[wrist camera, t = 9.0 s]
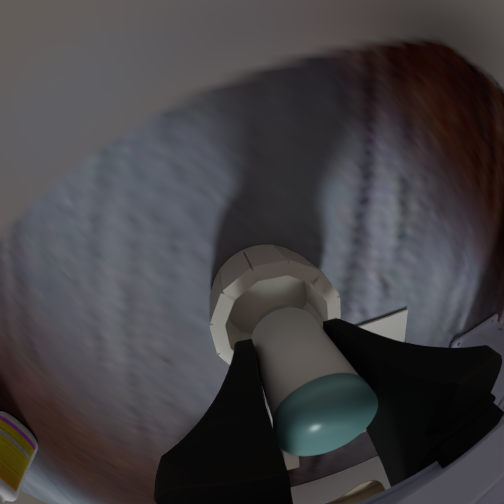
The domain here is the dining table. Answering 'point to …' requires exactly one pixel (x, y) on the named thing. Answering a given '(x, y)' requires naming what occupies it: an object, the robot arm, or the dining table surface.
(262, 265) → the pen cup
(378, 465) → the gable box
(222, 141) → the dining table surface
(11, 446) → the supplement bottle
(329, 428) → the marker
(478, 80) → the dining table surface
